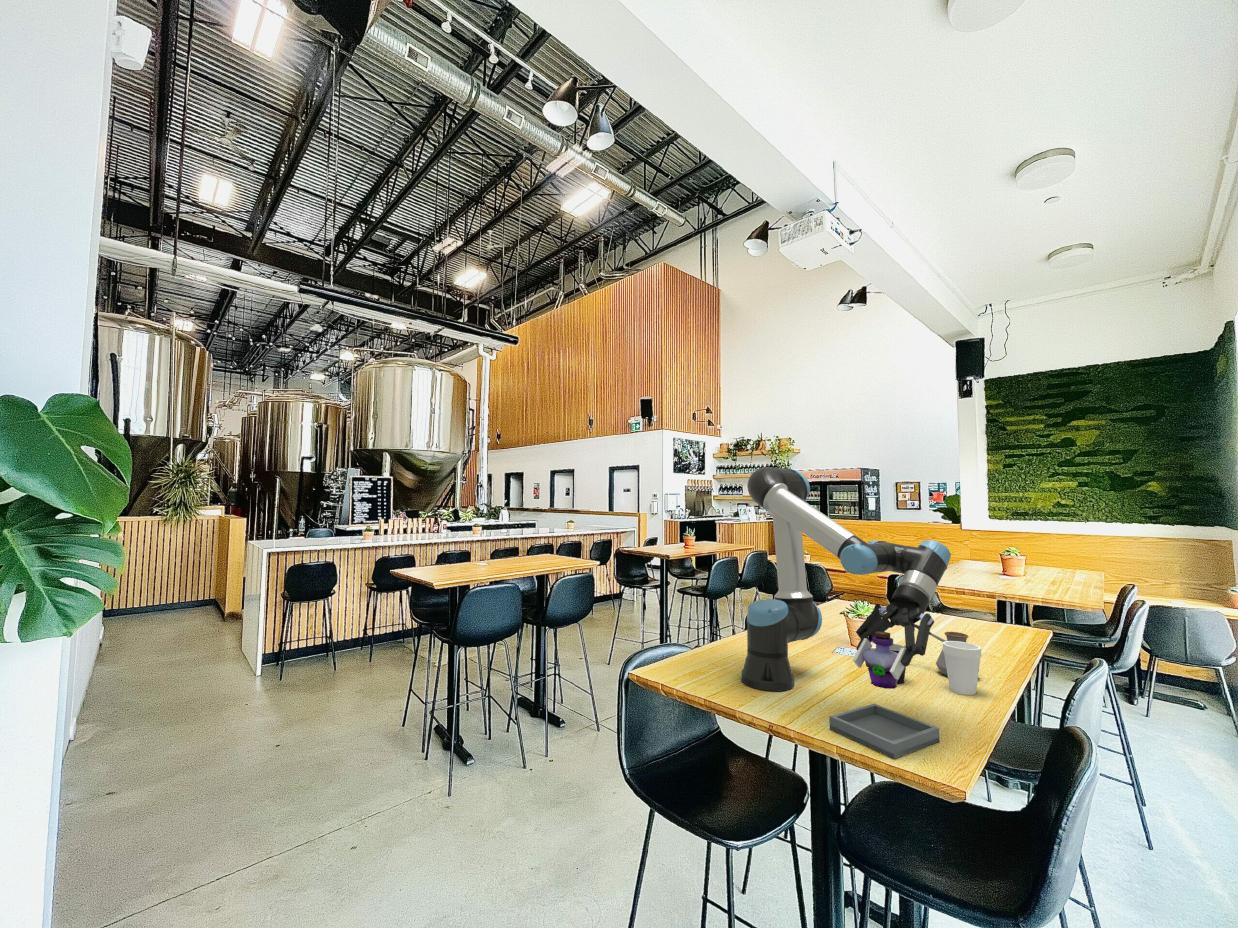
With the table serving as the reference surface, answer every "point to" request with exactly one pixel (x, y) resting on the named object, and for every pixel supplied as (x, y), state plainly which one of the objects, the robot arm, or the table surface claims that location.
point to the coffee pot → (941, 659)
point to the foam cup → (962, 666)
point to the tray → (884, 730)
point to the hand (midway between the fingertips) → (874, 669)
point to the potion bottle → (881, 661)
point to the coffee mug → (896, 649)
